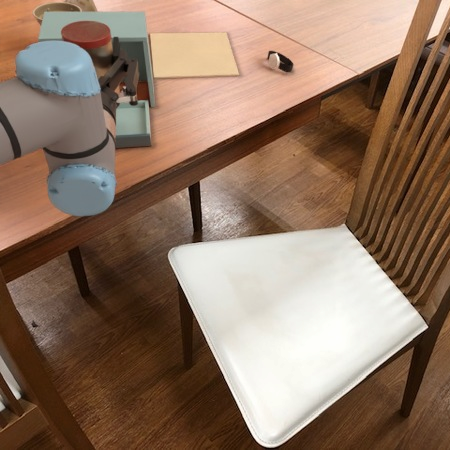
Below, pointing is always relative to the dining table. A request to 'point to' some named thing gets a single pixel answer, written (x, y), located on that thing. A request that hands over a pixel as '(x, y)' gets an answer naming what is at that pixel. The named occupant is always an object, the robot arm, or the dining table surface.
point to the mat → (192, 55)
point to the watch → (275, 61)
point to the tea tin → (92, 43)
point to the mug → (84, 5)
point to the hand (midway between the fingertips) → (92, 44)
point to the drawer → (133, 125)
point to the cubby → (119, 26)
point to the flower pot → (54, 9)
